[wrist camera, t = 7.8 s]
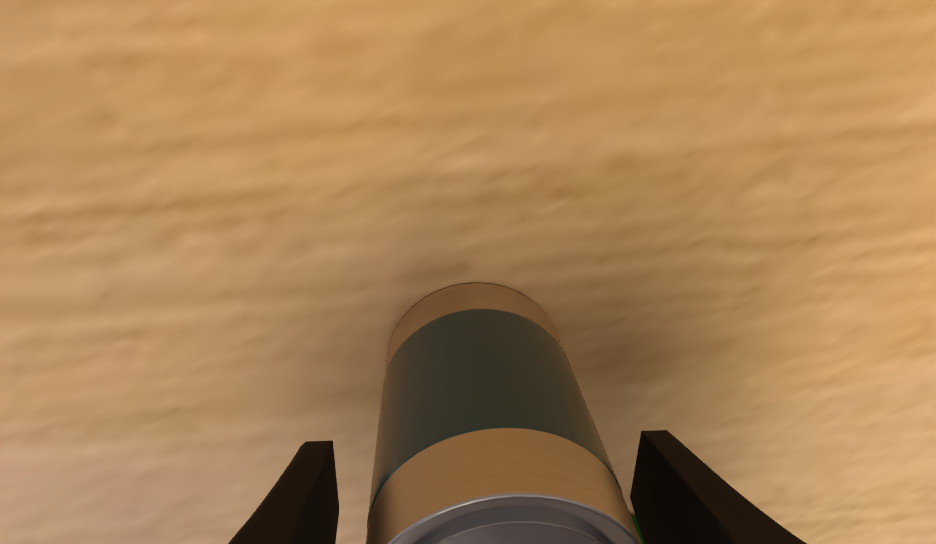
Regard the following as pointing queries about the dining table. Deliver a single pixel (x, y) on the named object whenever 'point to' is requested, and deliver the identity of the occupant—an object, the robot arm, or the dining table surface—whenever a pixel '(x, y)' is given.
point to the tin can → (488, 432)
